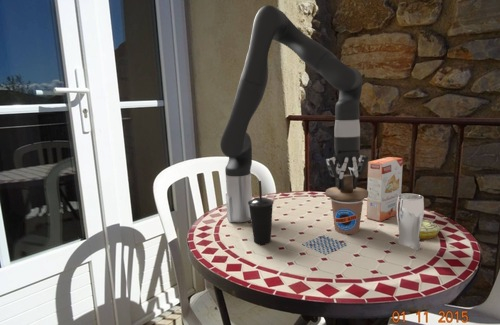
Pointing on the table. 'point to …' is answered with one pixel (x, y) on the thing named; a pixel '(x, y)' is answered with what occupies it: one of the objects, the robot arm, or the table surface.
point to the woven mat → (325, 244)
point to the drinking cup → (261, 218)
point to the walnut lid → (347, 191)
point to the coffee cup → (347, 215)
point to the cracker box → (383, 187)
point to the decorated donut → (428, 230)
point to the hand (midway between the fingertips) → (346, 188)
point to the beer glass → (410, 219)
